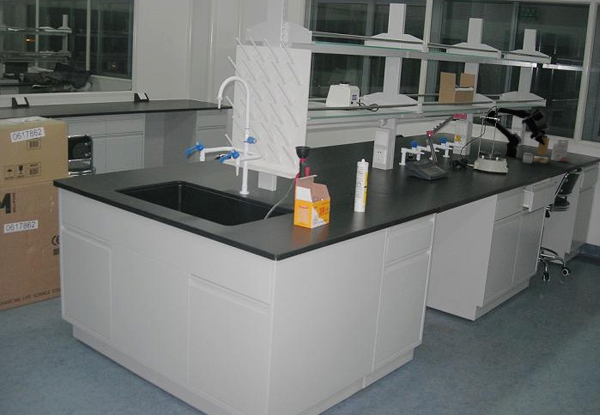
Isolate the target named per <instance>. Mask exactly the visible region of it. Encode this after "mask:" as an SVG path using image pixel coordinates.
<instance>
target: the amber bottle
mask: <svg viewBox="0 0 600 415" xmlns="http://www.w3.org/2000/svg"><path fill="white" fill-rule="evenodd" d="M542 139H543V141H544V143H545V145H542V144H541V143H539V142H538V145H537V146H538V147H537V151H536V152H537V153H536V154H538V155H543V156H545V155H547V153H548V148H549V142H550V137H548V135H546V134H545V135H543V137H542Z"/></svg>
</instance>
